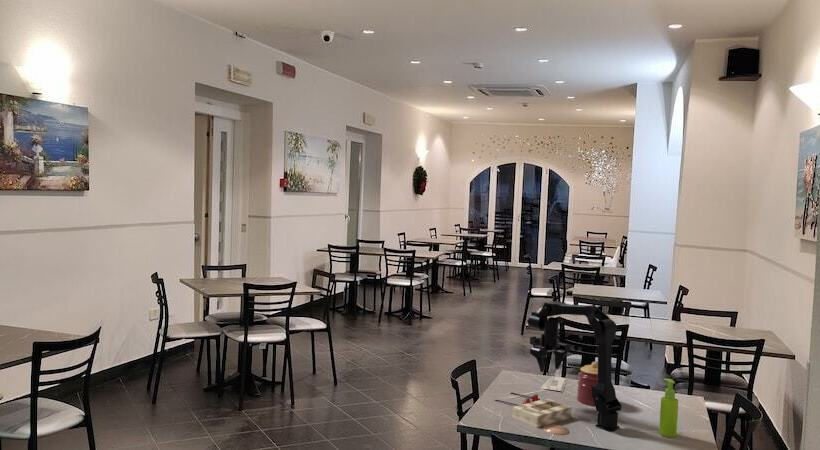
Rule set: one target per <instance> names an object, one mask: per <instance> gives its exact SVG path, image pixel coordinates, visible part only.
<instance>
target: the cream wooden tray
mask: <svg viewBox="0 0 820 450" xmlns="http://www.w3.org/2000/svg"><path fill="white" fill-rule="evenodd" d="M530 402H531V403H527V404H523V403H522V404H518V405H519V406H517V405H514V406H513V407H512V418H514V419H516V420H518V421H521V422H523V423H525V424H528V425H530V426H531V427H535V428H539V427H543V426H545V425H550V424H555V423H558V422H561V421H564V420H569V419H572V409H573V408H572V406H571V405H568V404H565V403H563V402H558V401H556V400H553V399H550V398H544V399H540V400H538V401H535V402H532V401H530ZM541 404H548V405H550V406H553V408H549V409H546V410H542V411H539V410H537V409H534V408H531V407H533V406H537V405H541Z"/></svg>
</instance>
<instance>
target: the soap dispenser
mask: <svg viewBox="0 0 820 450" xmlns="http://www.w3.org/2000/svg"><path fill="white" fill-rule="evenodd" d="M663 380H664V381H666V382H667V387H666V388H665V389H664V396H661V398H660V408H659V409H660V413H659V428H658V429H659V430H658V431H659V432H658V434H659V435H660V436H662V437H666V438H677V430H678V418H679V417H678V414H679V413H678V412H679V399H678V398H676V390H675V389H674V384H675V385H676V382H675V381H674V379H672V378H663Z"/></svg>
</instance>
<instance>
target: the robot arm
mask: <svg viewBox="0 0 820 450" xmlns="http://www.w3.org/2000/svg"><path fill="white" fill-rule="evenodd" d="M562 315H569V316H570V315H571V316H574V315H575V316H585V317H586V319H587V321H588V324H589V325H590V327H591V329H593V336H594V338H595V340H596V342H597V363H598V382H597V384H596V385H593V386H592V395H591V397H593V402H594V403H595V406H594V407H595V411H596V412H597V419H596V421H597V422H596V424H595V427H597V428H600V429H603V430H605V431H608V432H612V431H615V430H619V429H621V426H619V425H618V423H619V422H618V420H619V416H618V415H619V412H620V411H621V410H622V407H623V406H622V404H621V403H620V401H619V399H618V397H617V395H616V388H615V387H614V385H613V383H612V345H613V342H614V340H615V338H616V333H617V329H618V327H617V324H616V322H615V321H614V320H613V319H611V318H610V317H609V316H608V314H606V313H604V312H603V311H601V310H600V308H598V306H596V305H594V304H591V305H590V304H589V305H586V304H585V305H583V304H567V303H565V302H561V301H557V300H555V301H554V300H553V301H547V302H546V301H545V302H544V303H543V305H542V308H541V310H540V311H539V312H538V311H531V315H529V316H528V320H527V325H528V327H529V328H532V329H535V330H540V331H543V333H541V334H540V337H537V336H530V337H529V345H531V348H530V349H529V355H532V357H534V358H535V359H536V361H537V365H538V367H539V371H540V372H541V373H544V371H545V368H546V363H547V360H548V356H547V355H548V353H551V352H553V354H554V367H555V369H556V370H559V369H560V366H561V364H562V362H563V361H564V360H565V358H566V356H567V355H568V354H569V352H571V346H570V345H569V344H568V343H563V342H559V339H561V335H560V334H559V330H560V329H559V326H560V324H561V323H564V320H563V319H562V318H561V316H562ZM554 316H556V317H554Z"/></svg>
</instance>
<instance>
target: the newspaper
mask: <svg viewBox="0 0 820 450" xmlns="http://www.w3.org/2000/svg"><path fill="white" fill-rule="evenodd" d="M551 377H552V378H551ZM551 377H550V378H549V379H548V380H546V382H544V383H543V384H542V386H541V387H540V390H550V391H557V392H561V393H563V392H564V390H565V387H566V384H567V382H568V378H566V377H560V376H551Z"/></svg>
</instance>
